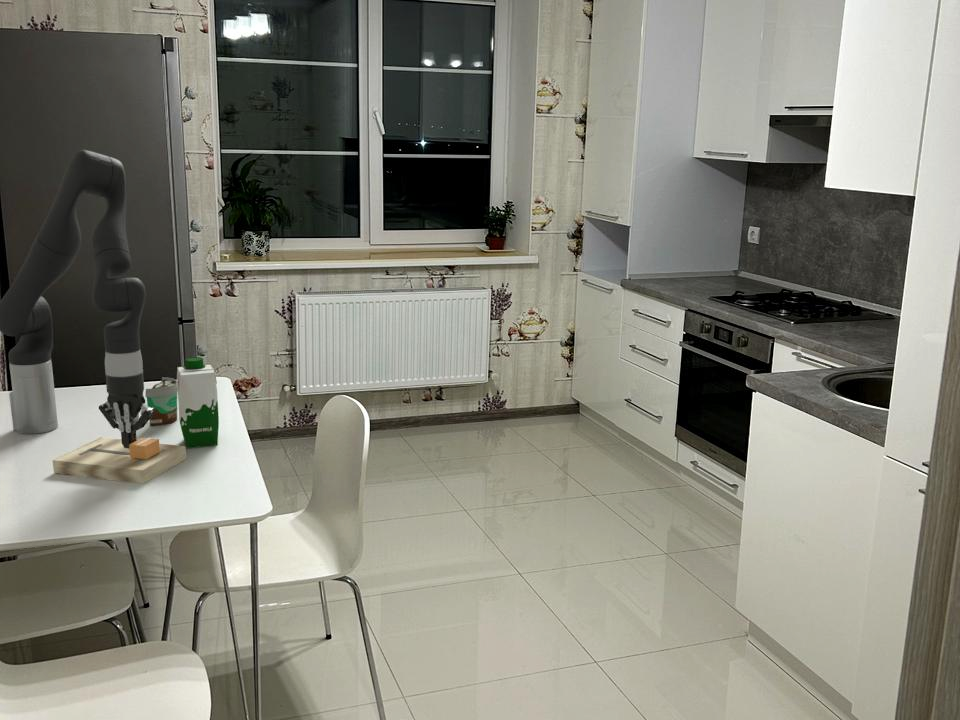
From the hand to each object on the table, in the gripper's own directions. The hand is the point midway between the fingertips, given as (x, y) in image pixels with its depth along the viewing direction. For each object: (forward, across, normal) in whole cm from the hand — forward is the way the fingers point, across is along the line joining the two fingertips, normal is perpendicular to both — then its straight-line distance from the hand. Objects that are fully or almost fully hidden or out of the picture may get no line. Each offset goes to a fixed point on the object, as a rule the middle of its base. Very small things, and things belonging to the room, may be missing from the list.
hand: (129, 447), depth 199 cm
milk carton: (+5, -6, -19) cm, 20 cm away
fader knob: (+1, -4, 0) cm, 4 cm away
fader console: (+5, +2, 0) cm, 5 cm away
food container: (+5, +11, -32) cm, 35 cm away
